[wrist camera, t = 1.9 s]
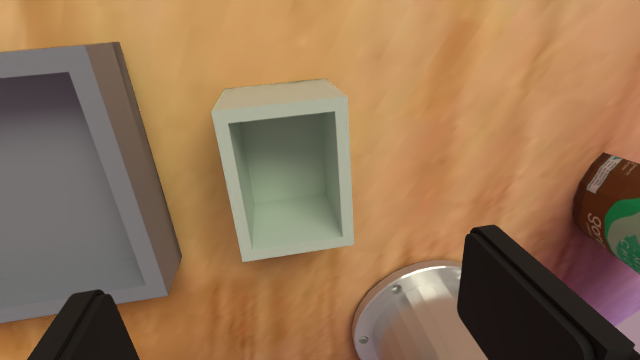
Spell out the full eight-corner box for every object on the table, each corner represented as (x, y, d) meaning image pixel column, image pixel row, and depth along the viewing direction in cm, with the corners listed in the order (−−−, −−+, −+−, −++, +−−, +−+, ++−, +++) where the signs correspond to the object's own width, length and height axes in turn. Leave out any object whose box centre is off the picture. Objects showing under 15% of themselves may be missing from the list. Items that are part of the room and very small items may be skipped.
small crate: (325, 78, 21) (347, 96, 16) (333, 196, 24) (354, 244, 19) (224, 89, 20) (211, 111, 15) (246, 208, 24) (242, 262, 18)
